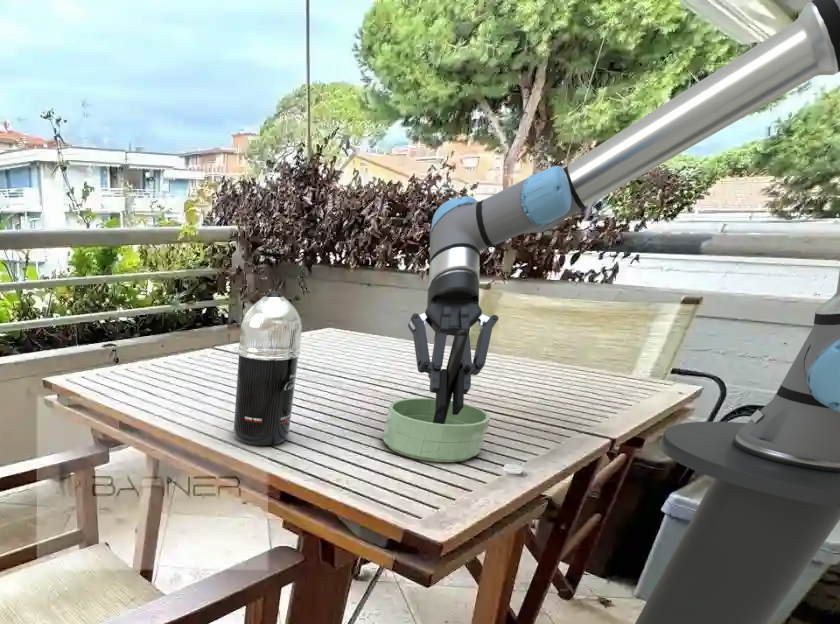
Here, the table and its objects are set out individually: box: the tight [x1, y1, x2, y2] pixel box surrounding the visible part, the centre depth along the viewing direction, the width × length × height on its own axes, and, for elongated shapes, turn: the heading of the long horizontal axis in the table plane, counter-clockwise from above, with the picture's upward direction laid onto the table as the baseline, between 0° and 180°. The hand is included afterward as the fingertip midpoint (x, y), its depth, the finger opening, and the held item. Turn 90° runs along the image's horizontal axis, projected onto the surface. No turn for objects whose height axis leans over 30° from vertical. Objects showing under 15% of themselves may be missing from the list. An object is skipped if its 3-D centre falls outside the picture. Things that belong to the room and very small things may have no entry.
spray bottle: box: [233, 290, 303, 447], centre depth 94 cm, size 10×10×25 cm
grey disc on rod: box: [433, 329, 468, 424], centre depth 88 cm, size 5×5×19 cm
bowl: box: [382, 397, 491, 463], centre depth 93 cm, size 15×15×6 cm
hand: (449, 409), depth 86 cm, fingers closed on grey disc on rod, 2 cm apart
